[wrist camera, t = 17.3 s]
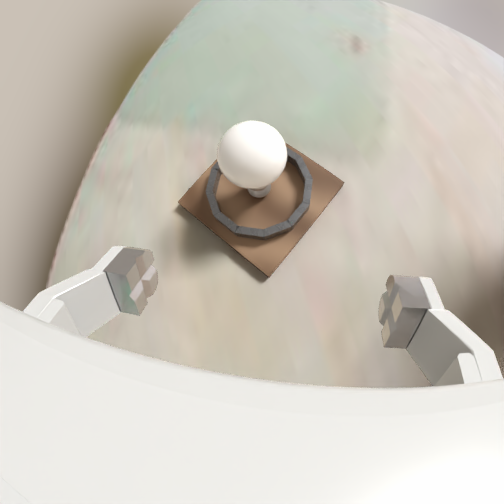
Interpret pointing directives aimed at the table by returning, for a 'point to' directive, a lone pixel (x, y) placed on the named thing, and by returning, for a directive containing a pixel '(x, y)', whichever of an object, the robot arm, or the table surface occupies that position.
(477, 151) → the table surface
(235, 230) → the collar
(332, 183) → the board
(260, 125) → the lightbulb
